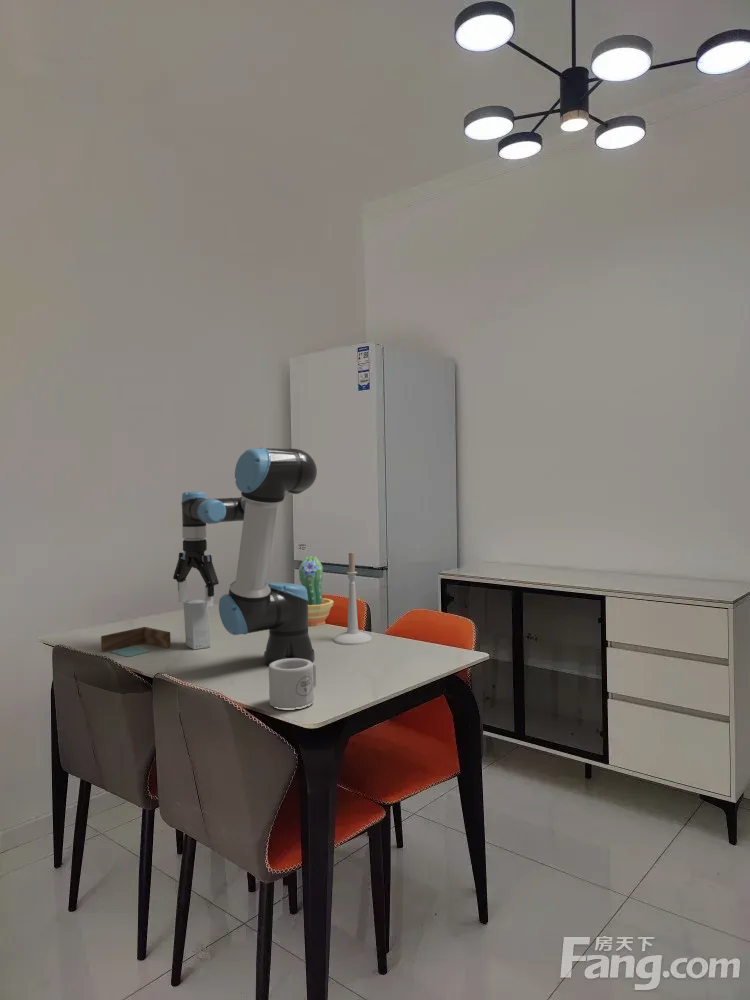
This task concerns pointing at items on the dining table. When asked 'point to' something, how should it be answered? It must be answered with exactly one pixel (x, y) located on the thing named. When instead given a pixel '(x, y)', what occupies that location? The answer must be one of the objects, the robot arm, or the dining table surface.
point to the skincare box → (196, 624)
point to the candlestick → (352, 613)
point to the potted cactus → (314, 590)
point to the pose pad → (129, 651)
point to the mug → (291, 682)
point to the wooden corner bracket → (135, 638)
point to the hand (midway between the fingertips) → (195, 604)
